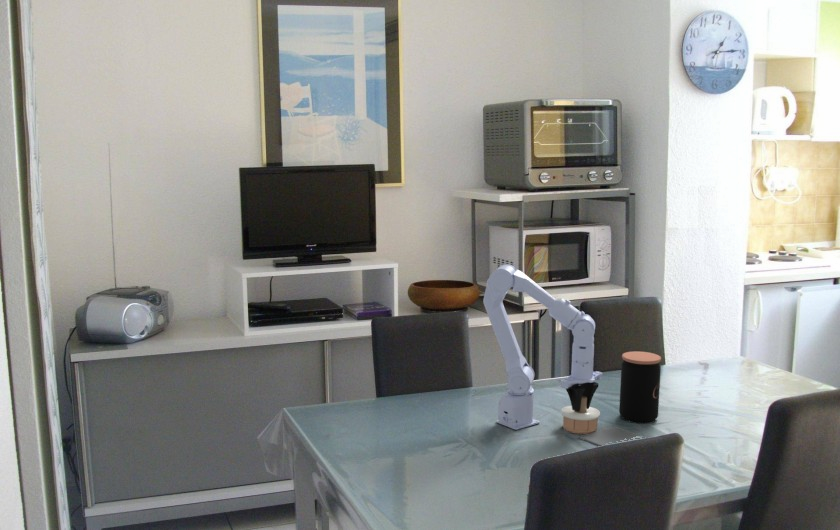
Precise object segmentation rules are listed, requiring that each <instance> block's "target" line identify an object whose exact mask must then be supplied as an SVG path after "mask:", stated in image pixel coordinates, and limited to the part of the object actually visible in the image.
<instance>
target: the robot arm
mask: <svg viewBox="0 0 840 530" xmlns="http://www.w3.org/2000/svg"><path fill="white" fill-rule="evenodd" d="M511 288H512V290H511V292H515V293H516V292H518V293H525V294H526V295H528V296H529V297H531V298H533V300H535V301H536V302H537V303H540V304H541V305H542V306H544V307H545V308H547V310H548V314H549V316H550V317H551V318H553V320H555V321H557V322H558V323H560V325H561V326H562V327H564V328H566V329H568V330H570V331H571V334H572V336H573V342H572V344H571V345H572V348H571V352H572V353H571V369H570V370H571V374H570V375H568V376H567V377H565V378H564V379H560V388H562V389H565V390H566V393H567V395H568V397H569V401H570V406H571V405H572V410H574V411H577V412H579V411H580V407H581V399H582V396H586V397H587V409H589V407H591V403H592V400H593V396H594V395H595V394H596V393H595V392H596V391H597V389H598V388H599V383H598V382H596V381H602V380H603V372H601V371H597V370H596V371H594V358H595V357H594V356H595V343H594V342H595V337H594V335H595V333H596V332H595V330H596V322H595V320H594V319H593V318H592V317H591V315H589V314H585V313H586V312H584V311H583V310H581V311H580V310H578V308H576V307H575V306H573V305H572V304H571V300H569V299H564V298H563V297H562V298H555V297H554V296H552V295H551V294H550V292H548V291H546V290H545V289H544V288H543V287H542V286H540V285H539V284H537V282H535V281H534V280H533V279H532V278H530V277H529V276H528V275H526V273H524V272H523V271H522V270H519V269H516V268H515V266H514V265H512V264H510V263H503V264H500V265H499V266H498V267H497V268H496V269H495V270H494V271H492V273H491V274H490V275H489V277H488V278H487V280H486V287H485V289H484V295H483V302H482V303H483V306H484V308H485V311H486V314H487V316H488V319H489V323H490V325H491V328H492V330H493V333H494V334H495V338H496V341H497V343H498V346H499V349H500V351H501V353H502V356H503V359H504V362H505V371H506V375H507V386H508V387H507V391H506V393H505V394H503V395H502V396H500V398H499V400H498V418H497V419H496V423H498V424H500V425H502V426H505V427H508V428H510V429H513V430H514V431H515V430H520V429H524V428H527V427H531V426H534V425H537V424H540V420H538V419H535V418H534V406H535V405H534V404H535V403H534V401H535V400H534V399H535V389H534V388H533V386H532V383H533V381H534V380H535V375H536V374H535V371H534V369H533V367H531V365H530V364H529V363H528V362H527V359H526V357H525V356H524V355H523V353H522V351H521V348H520V345H519V343H518V340H517V337H516V335H515V333H514V330H513V326H512V324H511V321H510V318H509V316H508V313H507V311H506V308H505V306H504V302H503V301H504V299H505V297H506V295H507V294H508V291H509V290H510V289H511Z"/></svg>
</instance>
